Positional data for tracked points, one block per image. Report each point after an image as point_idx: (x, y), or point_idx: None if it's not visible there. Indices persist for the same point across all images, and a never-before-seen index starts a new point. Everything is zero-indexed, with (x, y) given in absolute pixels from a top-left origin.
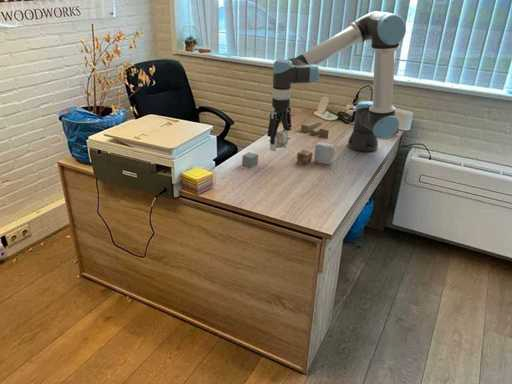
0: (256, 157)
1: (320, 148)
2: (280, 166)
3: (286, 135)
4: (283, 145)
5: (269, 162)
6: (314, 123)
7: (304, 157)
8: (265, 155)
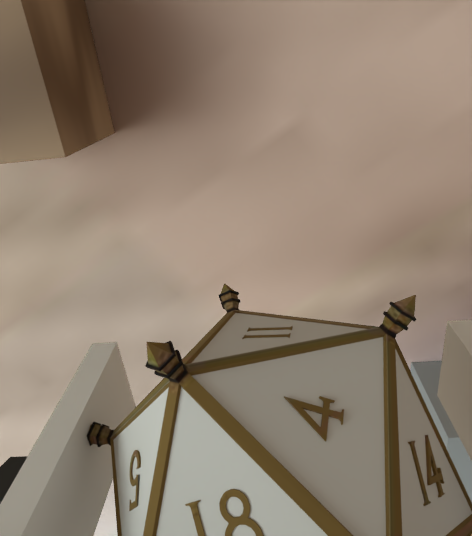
0: None
1: None
2: (315, 201)
3: (60, 488)
4: (415, 295)
5: None
6: None
7: (49, 25)
8: None
